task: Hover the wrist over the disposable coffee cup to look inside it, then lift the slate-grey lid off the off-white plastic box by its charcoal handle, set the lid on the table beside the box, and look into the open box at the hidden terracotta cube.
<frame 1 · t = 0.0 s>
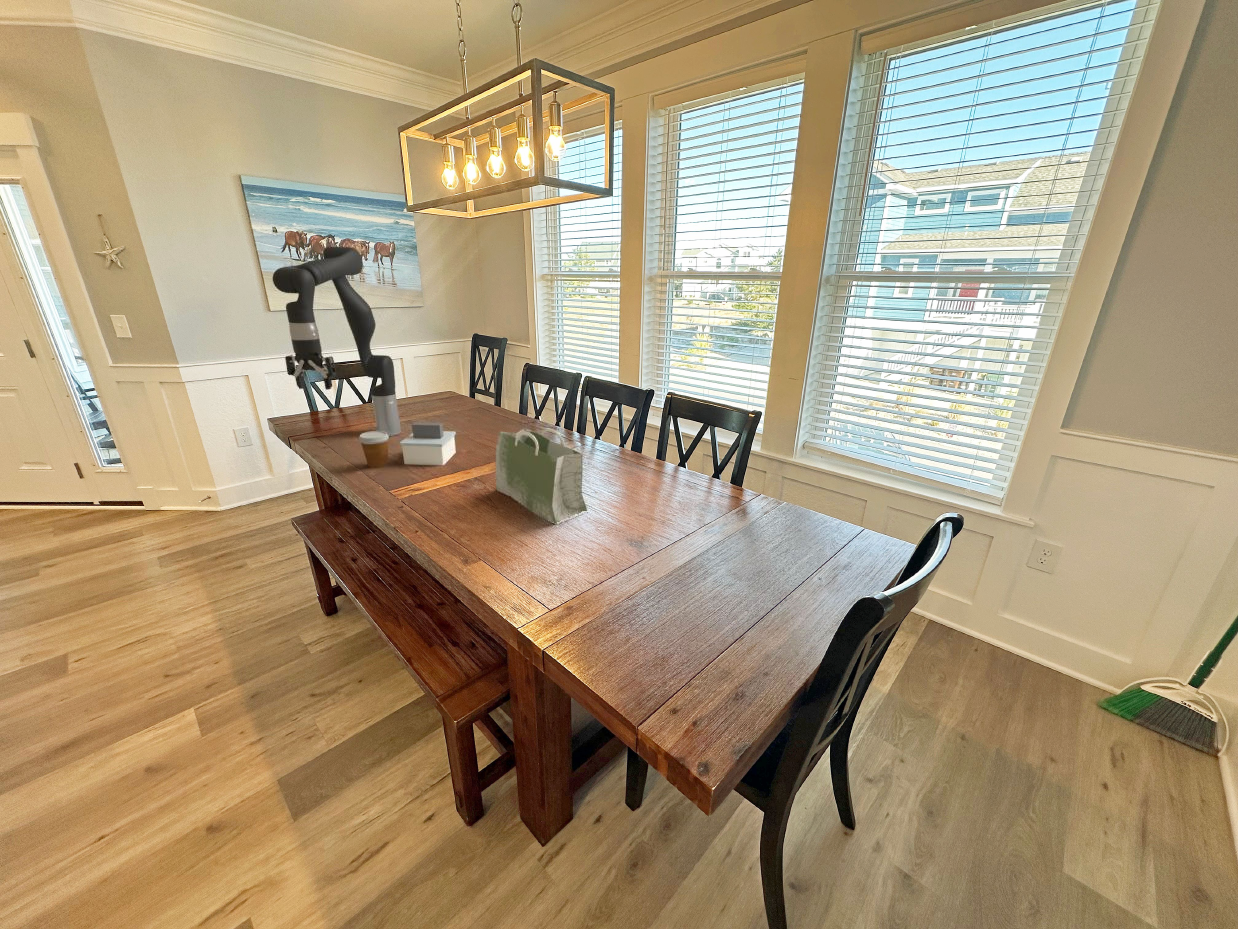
hand: (315, 388, 157), 29 cm above the table, tool pointing down, fingers open, 8 cm apart
grocery bag: (540, 501, 153), on the table
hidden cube: (431, 457, 182), point 1 cm above the table, touching storage box
disposable coffee cup: (378, 466, 174), on the table
storage box: (431, 459, 182), on the table
box lid: (429, 441, 179), point 7 cm above the table, touching storage box
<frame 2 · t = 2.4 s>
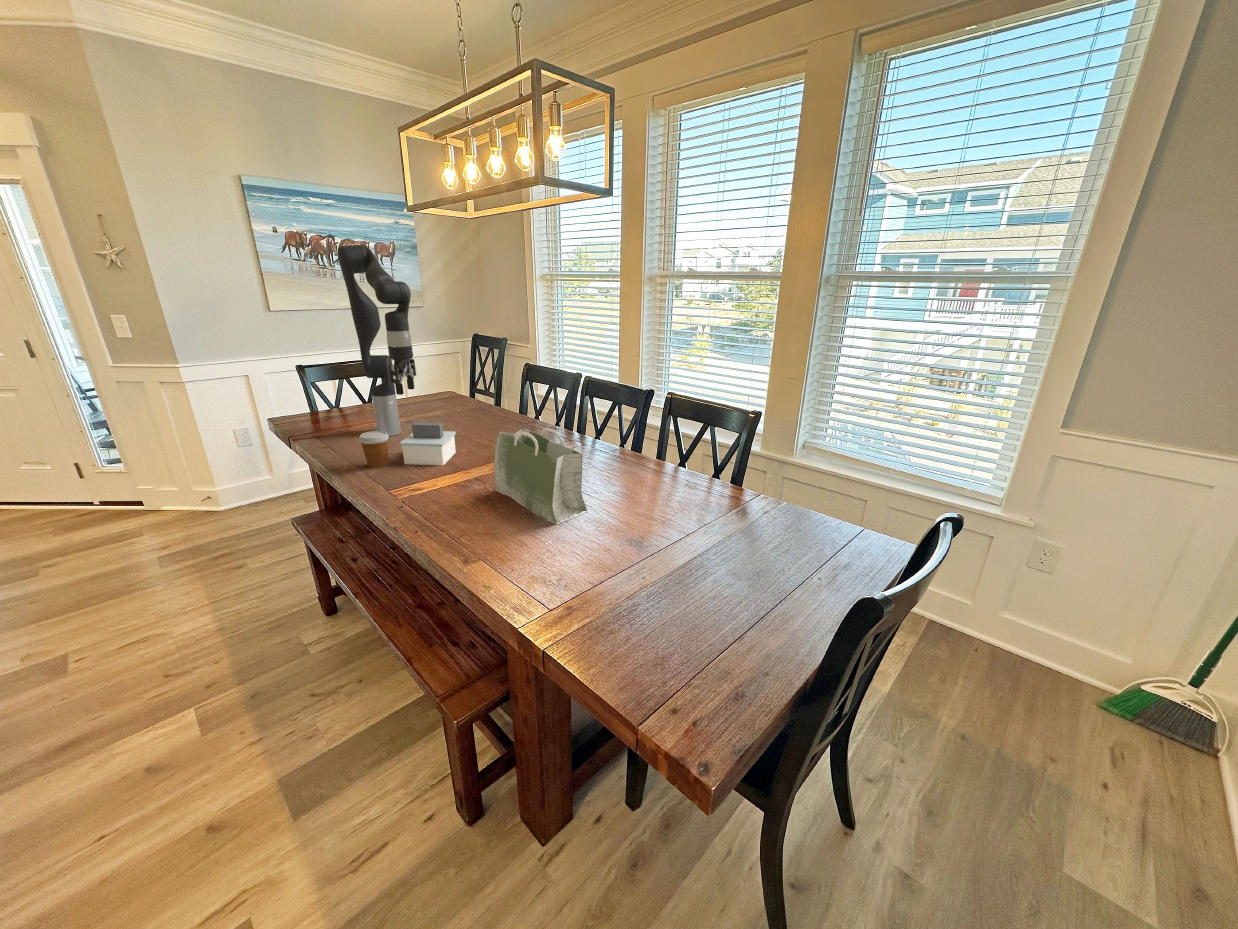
hand: (405, 391, 170), 26 cm above the table, tool pointing down, fingers open, 8 cm apart
nothing on the table moved.
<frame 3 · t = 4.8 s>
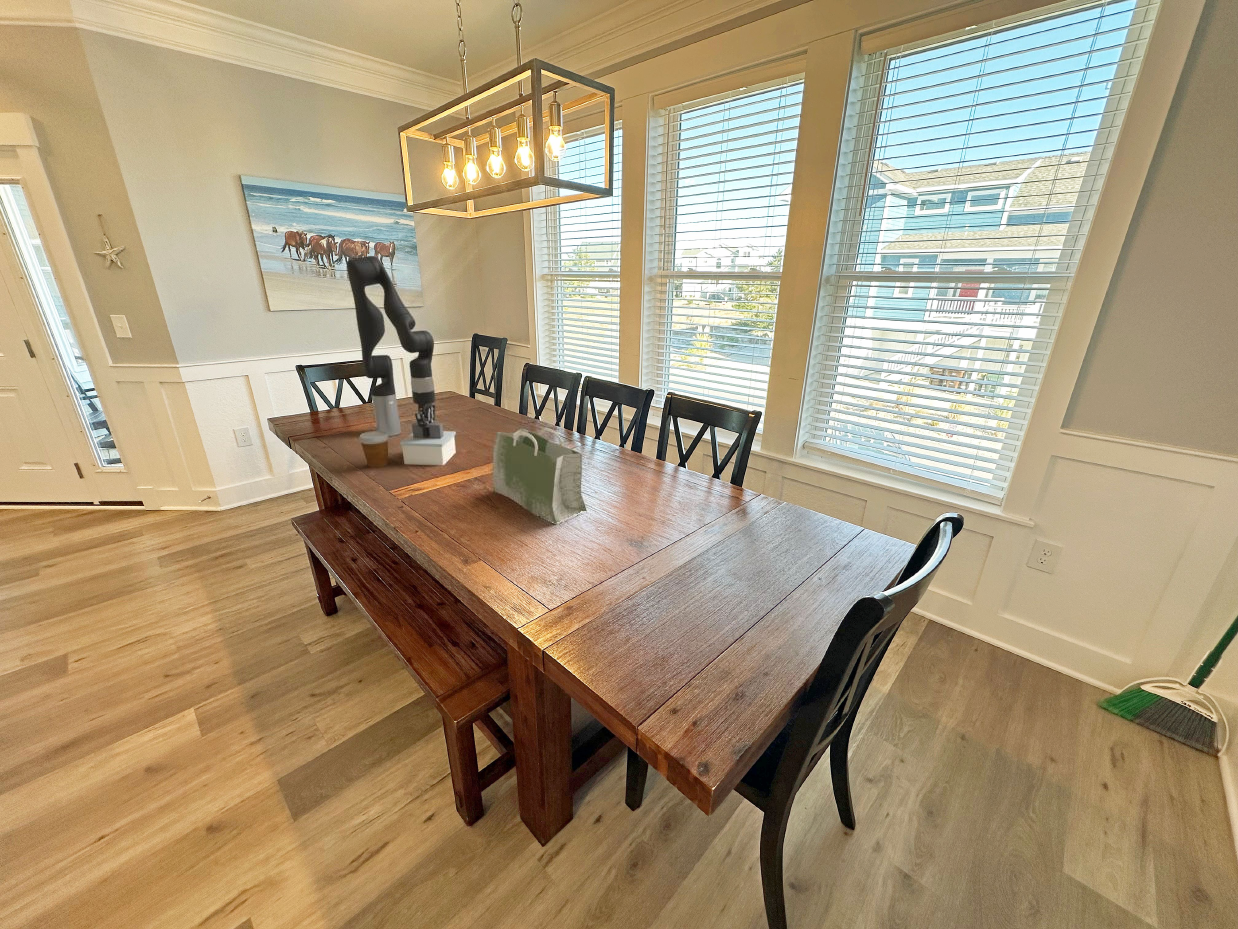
hand: (428, 435, 178), 10 cm above the table, tool pointing down, fingers closed on box lid, 3 cm apart
box lid: (429, 441, 179), point 7 cm above the table, touching gripper, storage box
everything else where it was.
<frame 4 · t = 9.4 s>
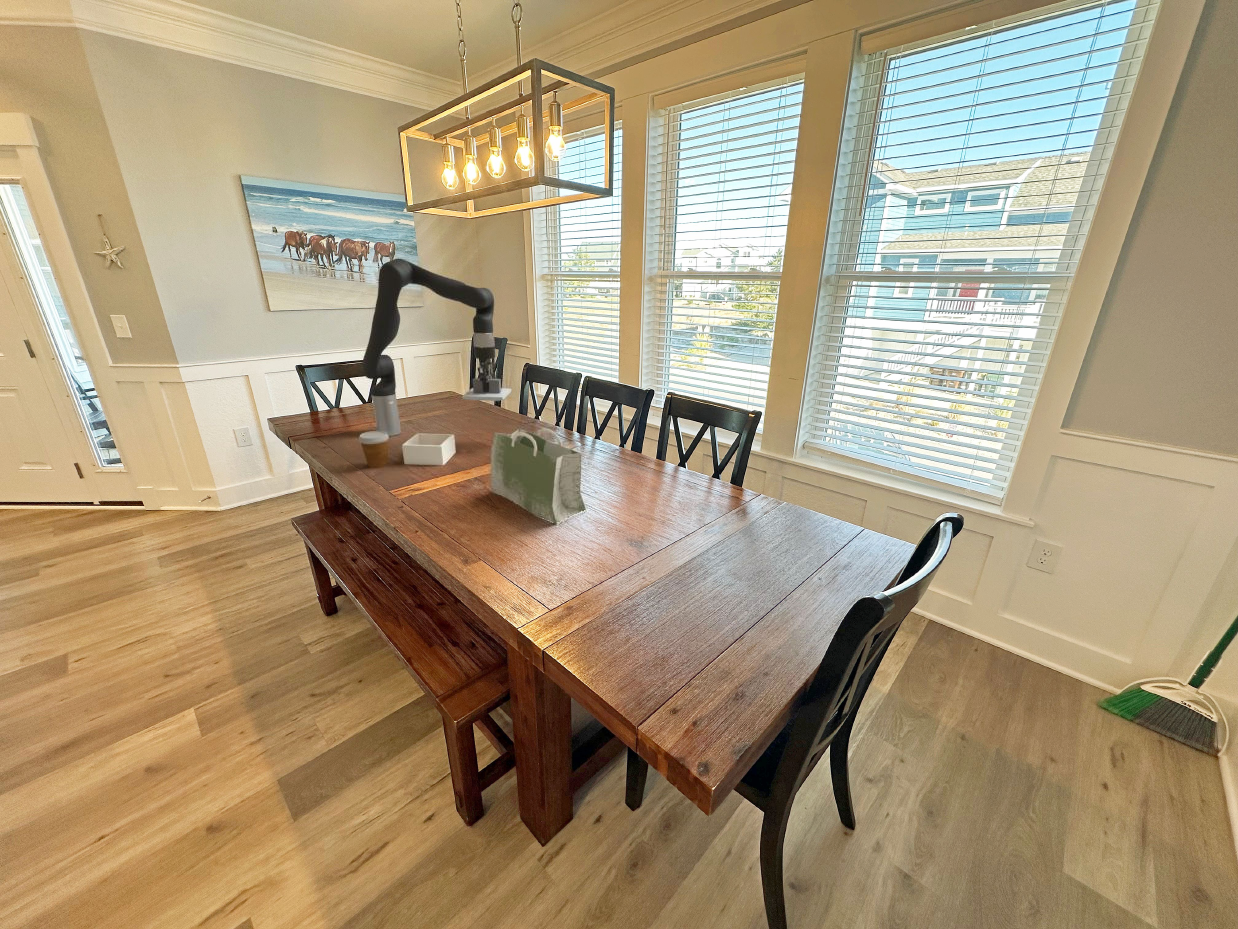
hand: (487, 390, 187), 24 cm above the table, tool pointing down, fingers closed on box lid, 3 cm apart
box lid: (487, 396, 188), point 21 cm above the table, touching gripper
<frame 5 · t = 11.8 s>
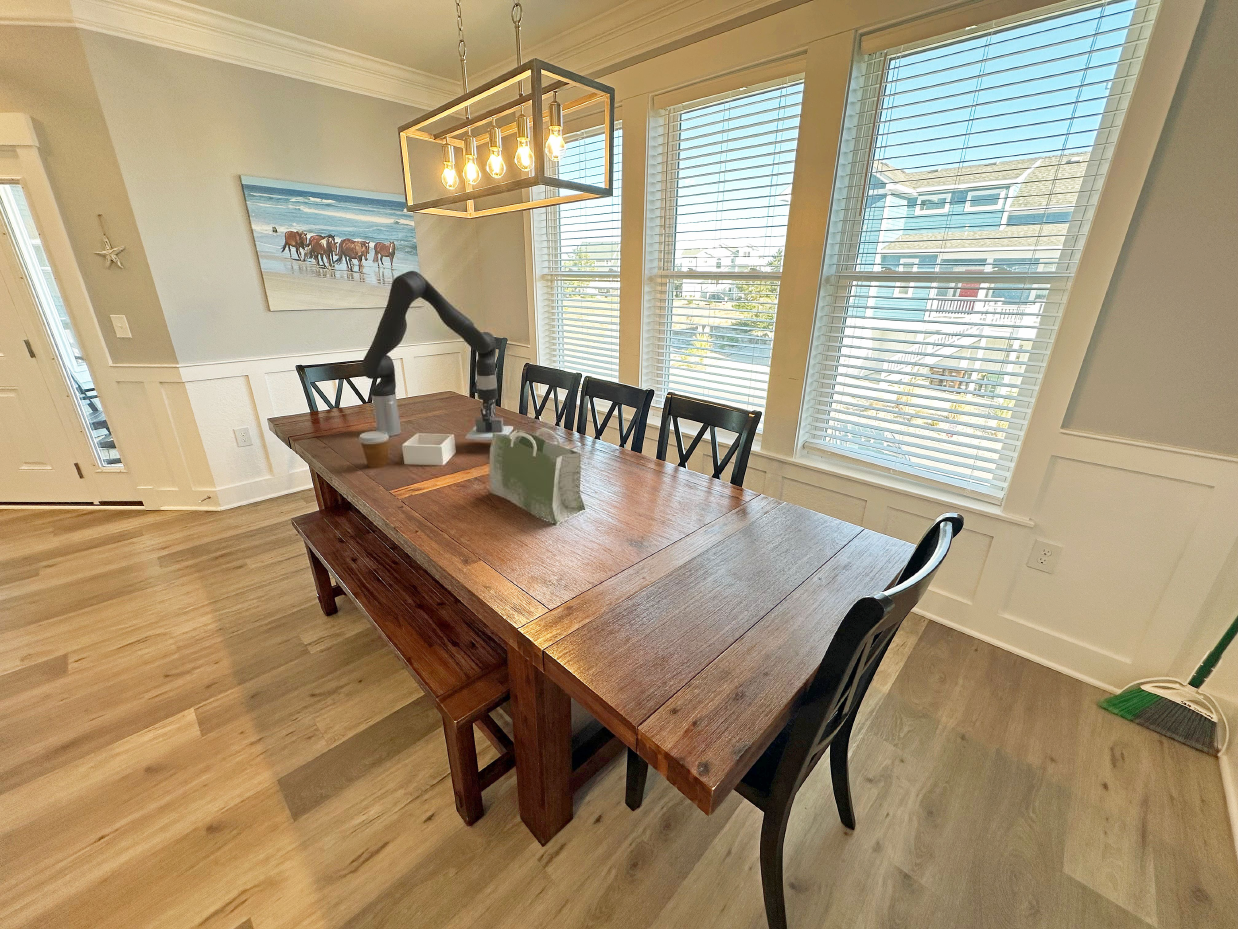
hand: (489, 429, 192), 8 cm above the table, tool pointing down, fingers closed on box lid, 3 cm apart
box lid: (490, 435, 193), point 6 cm above the table, touching gripper
when the fingers open (4 cm above the table, at t = 13.6 s): box lid drops 2 cm, on the table.
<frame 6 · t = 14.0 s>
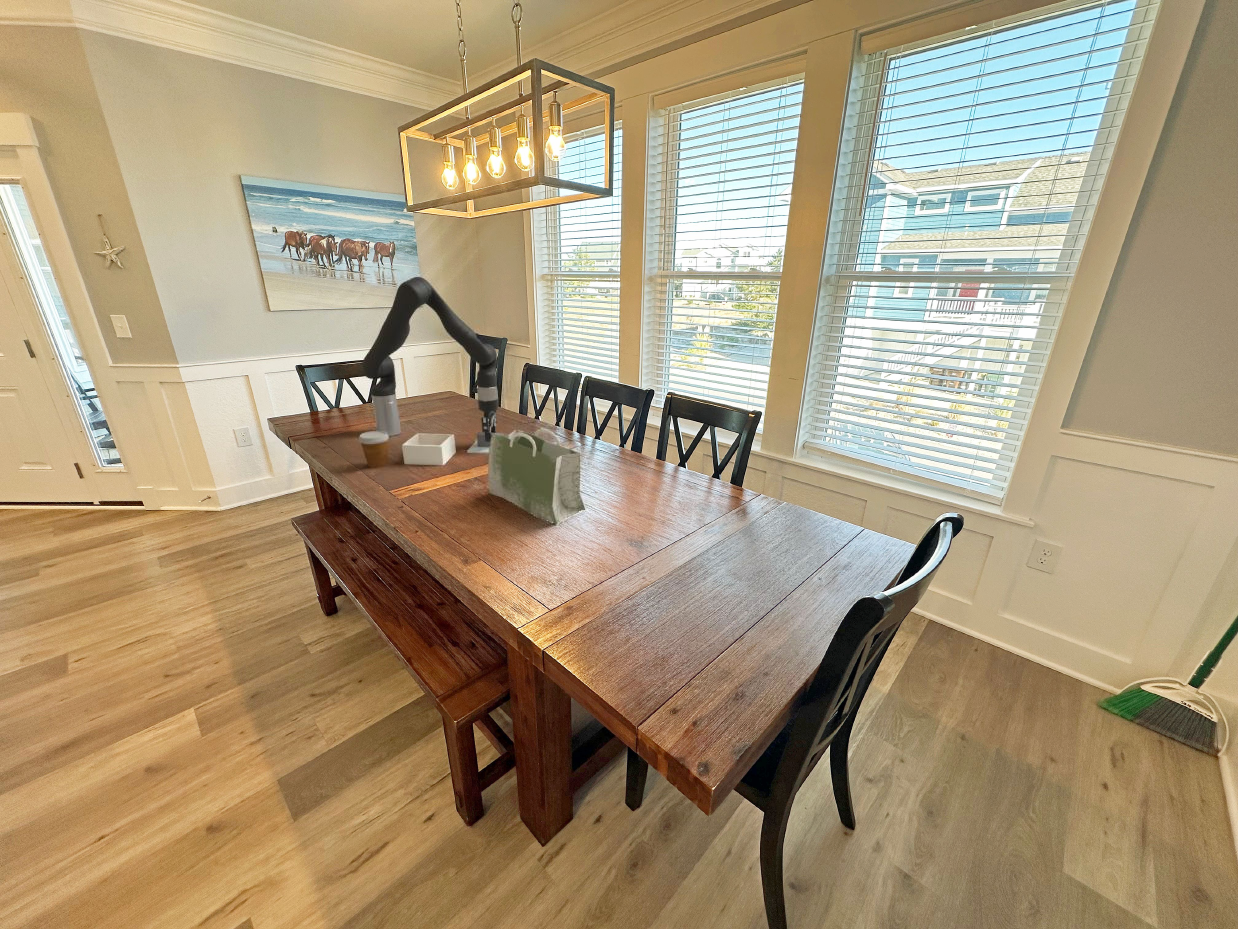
hand: (490, 438, 194), 5 cm above the table, tool pointing down, fingers open, 7 cm apart
box lid: (491, 449, 195), on the table
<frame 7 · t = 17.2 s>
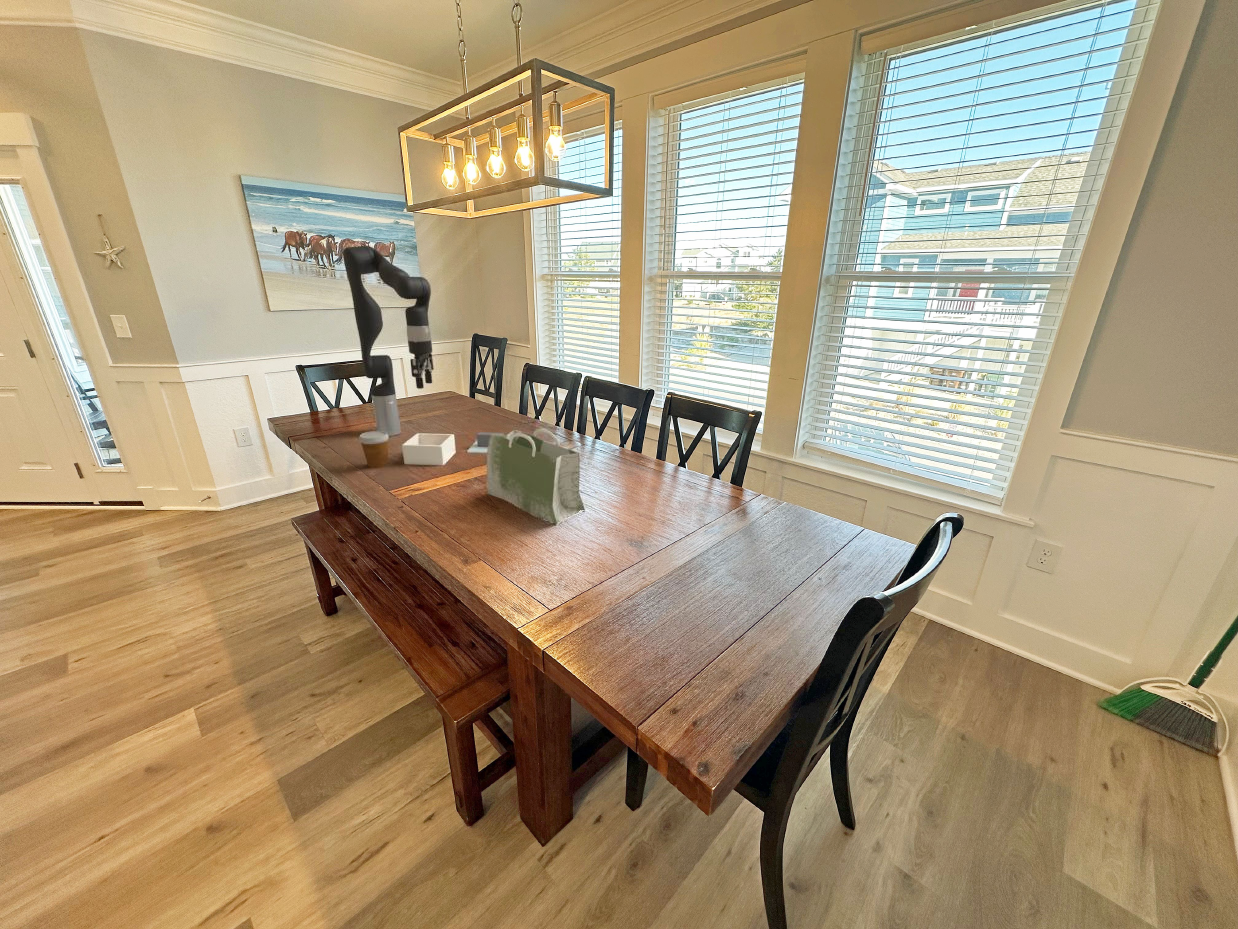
hand: (424, 385, 172), 28 cm above the table, tool pointing down, fingers open, 8 cm apart
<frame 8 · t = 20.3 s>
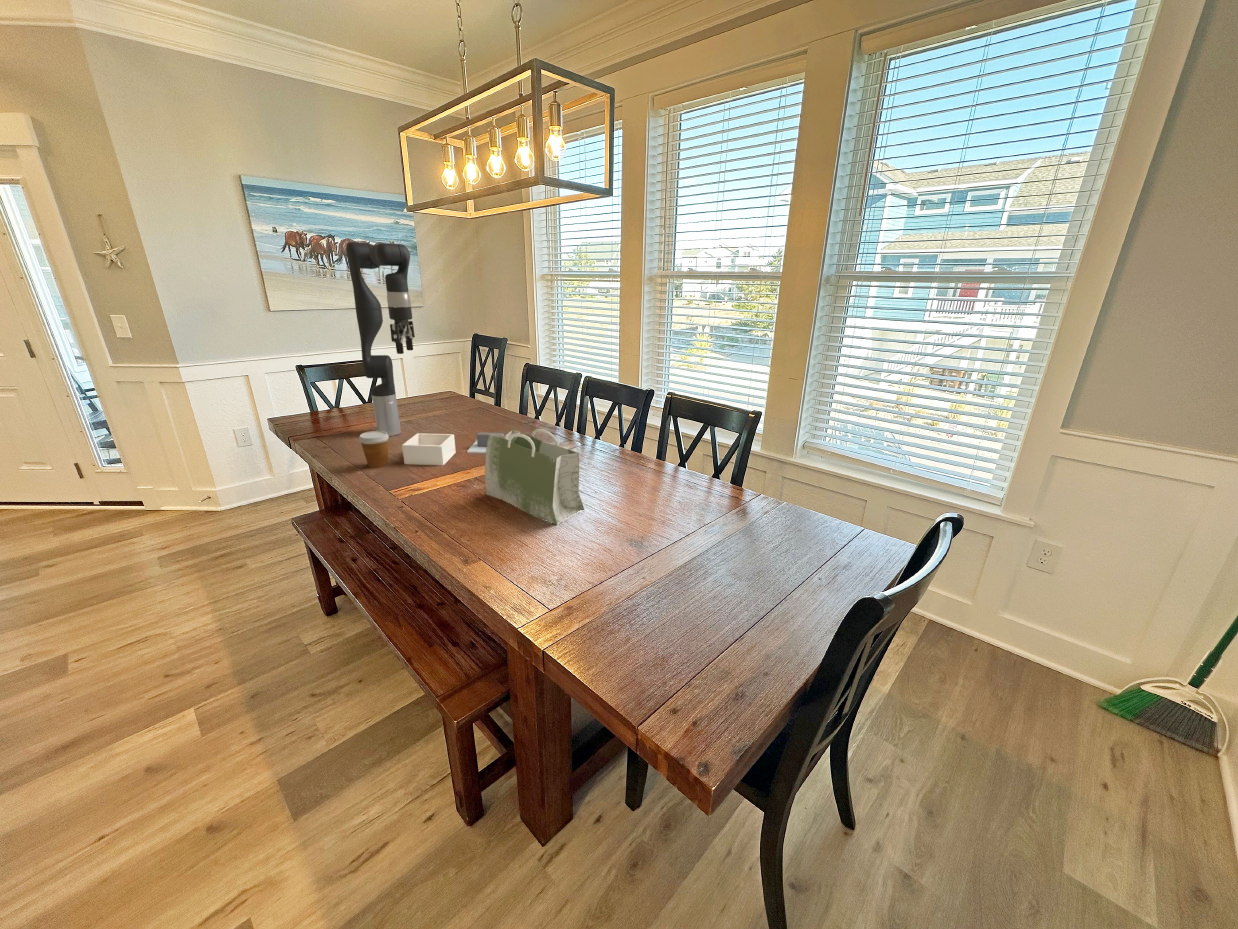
hand: (405, 351, 178), 38 cm above the table, tool pointing down, fingers open, 8 cm apart
at the end: box lid inside the target area (0.0 cm from its centre), on the table; the gripper is holding nothing; disposable coffee cup moved 0.2 cm from its start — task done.
